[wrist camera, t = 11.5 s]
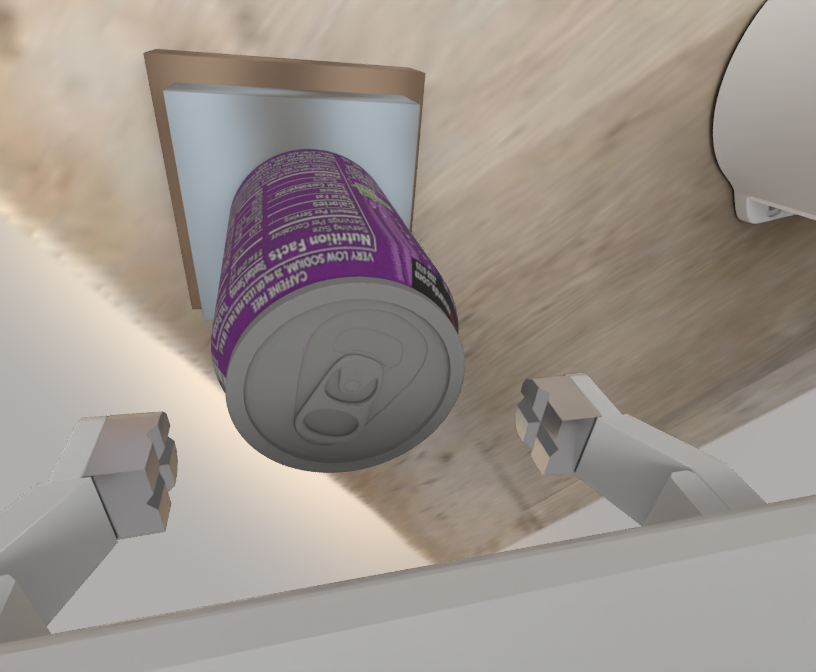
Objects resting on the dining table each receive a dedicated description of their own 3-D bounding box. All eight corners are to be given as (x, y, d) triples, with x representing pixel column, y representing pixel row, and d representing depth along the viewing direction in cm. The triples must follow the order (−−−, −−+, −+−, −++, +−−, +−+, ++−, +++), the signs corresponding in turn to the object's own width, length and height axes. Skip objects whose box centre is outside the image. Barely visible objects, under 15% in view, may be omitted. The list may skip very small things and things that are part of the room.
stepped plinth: (409, 67, 25) (445, 80, 20) (394, 276, 31) (419, 323, 26) (156, 48, 22) (126, 58, 17) (198, 284, 28) (185, 339, 23)
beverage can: (347, 312, 25) (402, 499, 15) (207, 262, 22) (164, 461, 12) (413, 190, 22) (531, 323, 13) (265, 112, 19) (271, 211, 9)
